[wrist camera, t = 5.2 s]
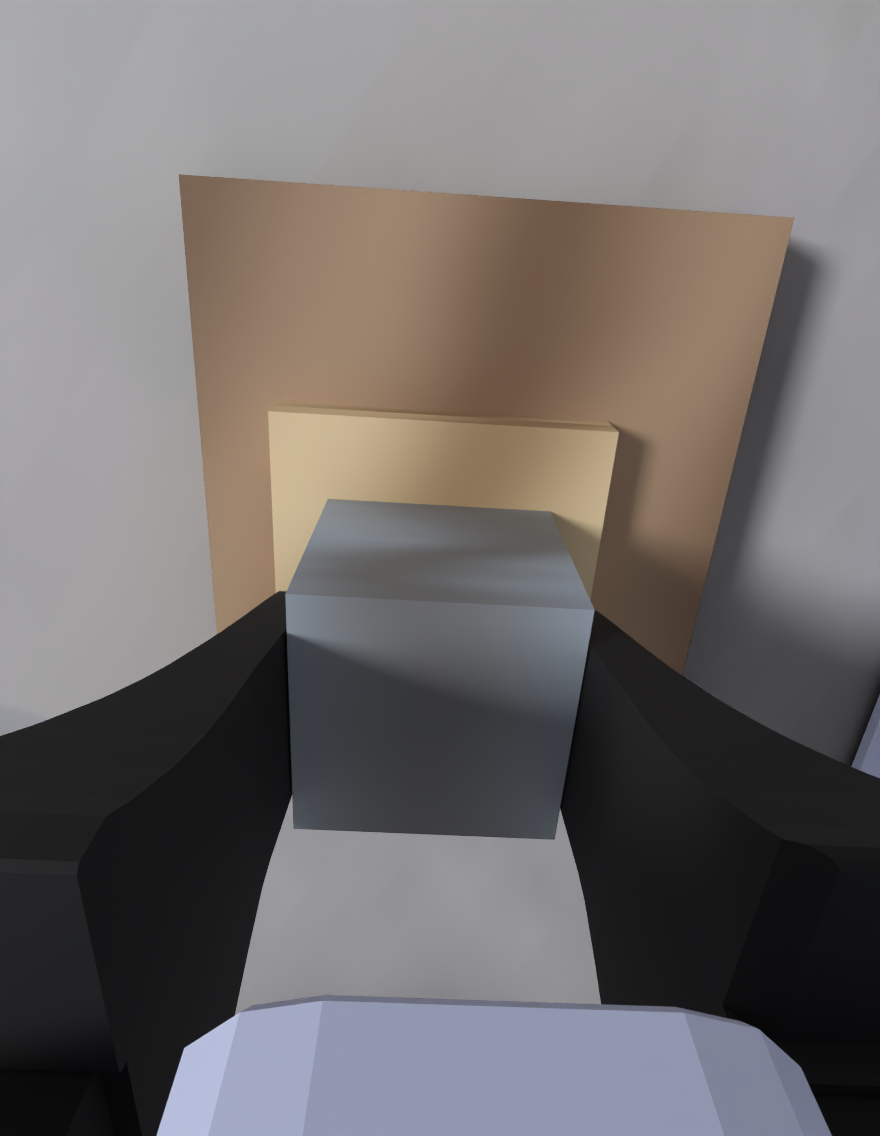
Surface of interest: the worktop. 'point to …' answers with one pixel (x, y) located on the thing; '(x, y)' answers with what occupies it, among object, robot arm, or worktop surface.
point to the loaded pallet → (434, 611)
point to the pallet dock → (484, 353)
